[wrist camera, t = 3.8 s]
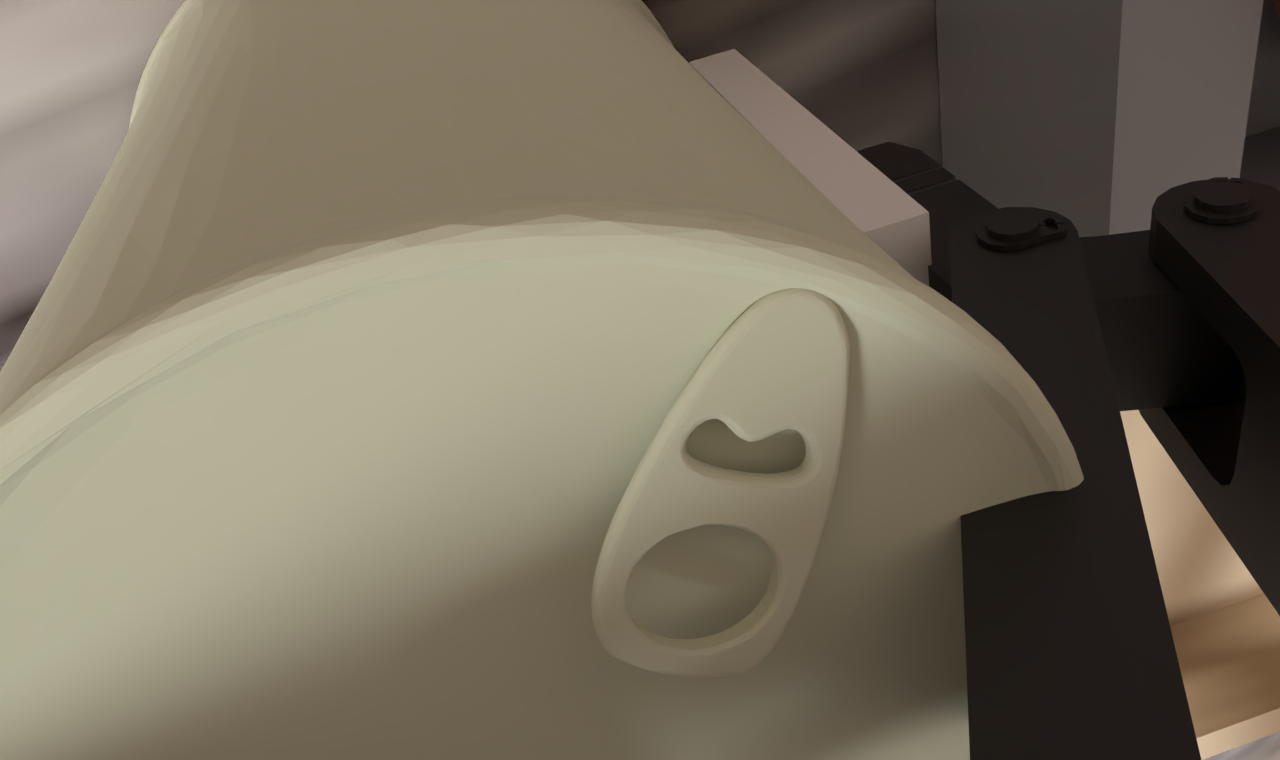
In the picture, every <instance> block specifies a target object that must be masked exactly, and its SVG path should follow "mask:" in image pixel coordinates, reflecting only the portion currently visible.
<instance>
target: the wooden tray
mask: <svg viewBox="0 0 1280 760" xmlns="http://www.w3.org/2000/svg"><path fill="white" fill-rule="evenodd" d="M1120 414H1121V418H1122V422H1123V427H1124V431H1125V435H1126V439H1127V444H1128V448H1129V452H1130V456H1131V461H1132V465H1133V469H1134V474H1135V478H1136V482H1137V486H1138V491H1139V495H1140V499H1141V503H1142V508H1143V512H1144V516H1145V521H1146V525H1147V529H1148V533H1149V538H1150V542H1151V546H1152V551H1153V555H1154V559H1155V563H1156V568H1157V572H1158V576H1159V580H1160V585H1161V589H1162V593H1163V598H1164V602H1165V606H1166V610H1167V615H1168V619H1169V623H1170V628H1171V632H1172V636H1173V640H1174V645H1175V649H1176V653H1177V657H1178V662H1179V666H1180V670H1181V675H1182V679H1183V683H1184V687H1185V692H1186V696H1187V700H1188V704H1189V709H1190V713H1191V717H1192V722H1193V726H1194V730H1195V734H1196V739H1197V743H1198V747H1199V752H1200V756H1201V760H1203V759H1206V758H1208V757H1211V756H1214V755H1217V754H1219V753H1222V752H1225V751H1227V750H1230V749H1233V748H1236V747H1238V746H1241V745H1244V744H1247V743H1249V742H1252V741H1255V740H1257V739H1260V738H1263V737H1266V736H1268V735H1271V734H1274V733H1277V732H1279V731H1280V616H1279V614H1278V613H1277V611H1276V610H1275V609H1274V607H1273V606H1272V604H1271V603H1270V601H1269V600H1268V598H1267V597H1266V596H1265V594H1264V593H1263V591H1262V590H1261V588H1260V587H1259V585H1258V584H1257V583H1256V581H1255V580H1254V578H1253V577H1252V575H1251V574H1250V572H1249V571H1248V570H1247V568H1246V567H1245V565H1244V564H1243V562H1242V561H1241V559H1240V558H1239V556H1238V555H1237V554H1236V552H1235V551H1234V549H1233V548H1232V546H1231V545H1230V543H1229V542H1228V541H1227V539H1226V538H1225V536H1224V535H1223V533H1222V532H1221V530H1220V529H1219V528H1218V526H1217V525H1216V523H1215V522H1214V520H1213V519H1212V517H1211V516H1210V515H1209V513H1208V512H1207V510H1206V509H1205V507H1204V506H1203V504H1202V503H1201V502H1200V500H1199V499H1198V497H1197V496H1196V494H1195V493H1194V491H1193V490H1192V488H1191V487H1190V486H1189V484H1188V483H1187V481H1186V480H1185V478H1184V477H1183V475H1182V474H1181V473H1180V471H1179V470H1178V468H1177V467H1176V465H1175V464H1174V462H1173V461H1172V460H1171V458H1170V457H1169V455H1168V454H1167V452H1166V451H1165V449H1164V448H1163V447H1162V445H1161V444H1160V442H1159V441H1158V439H1157V438H1156V436H1155V435H1154V434H1153V432H1152V431H1151V429H1150V428H1149V426H1148V425H1147V423H1146V422H1145V421H1144V419H1143V418H1142V416H1141V415H1140V412H1139V410H1130V411H1120Z"/></svg>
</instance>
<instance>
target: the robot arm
mask: <svg viewBox="0 0 1280 760" xmlns="http://www.w3.org/2000/svg"><path fill="white" fill-rule="evenodd" d="M689 64H690V65H691V66H692V67H693V68H694V69H695V70H696V71H697V72H698V73H699V74H700V75H701V76H702V77H703V78H704V79H705V80H706V81H707V82H708V83H709V84H710V85H711V86H712V87H713V88H714V89H715V90H716V91H717V92H718V93H719V94H720V95H721V96H722V97H723V98H724V99H725V100H726V101H727V102H728V103H729V104H730V105H731V106H732V107H733V108H734V109H735V110H736V111H737V112H738V113H739V114H740V115H741V116H742V117H744V118H745V119H746V120H747V121H748V122H749V123H750V124H751V125H752V126H753V127H754V128H755V129H756V130H757V131H758V132H759V133H760V134H761V135H762V136H763V137H764V138H765V139H766V140H767V141H768V142H769V143H770V144H772V145H773V146H774V147H775V148H776V149H777V150H778V151H779V152H780V153H781V154H782V155H783V156H784V157H785V158H786V159H787V160H788V161H789V162H790V163H791V164H792V165H793V166H794V167H795V168H796V169H797V170H798V171H800V172H801V173H802V174H803V175H804V176H805V177H806V178H807V179H808V180H809V181H810V182H811V183H812V184H813V185H814V186H815V187H816V188H817V189H818V190H819V191H820V192H821V193H822V194H823V195H824V196H825V197H826V198H828V199H829V200H830V201H831V202H832V203H833V204H834V205H835V206H836V207H837V208H838V209H839V210H840V211H841V212H842V213H843V214H844V215H845V216H846V217H847V218H848V219H849V220H850V221H851V222H852V223H853V224H855V225H856V226H857V227H858V228H859V229H860V230H861V231H862V232H864V233H865V234H866V235H867V236H868V237H869V238H870V239H871V240H872V241H874V242H875V243H876V244H877V245H878V246H879V247H880V248H881V249H883V250H884V251H885V252H886V253H887V254H888V255H889V256H890V257H892V258H893V259H894V260H895V261H896V262H897V263H898V264H899V265H900V266H902V267H903V268H904V269H905V270H906V271H907V272H908V273H909V274H911V275H912V276H913V277H914V278H915V279H916V280H918V281H920V282H922V283H923V284H925V285H927V286H929V287H931V288H932V289H934V290H935V291H937V292H938V293H940V294H941V295H942V296H944V297H945V298H947V299H948V300H949V301H951V302H952V303H954V304H955V305H956V306H958V307H959V308H961V309H962V310H963V311H965V312H966V313H967V314H968V315H969V316H971V317H972V318H973V319H974V320H975V321H976V322H977V323H979V324H980V325H981V326H982V327H983V328H984V329H985V330H987V331H988V332H989V333H990V334H991V335H992V336H994V337H995V338H996V339H997V340H998V341H999V342H1000V343H1002V345H1003V346H1004V347H1005V348H1006V349H1007V350H1008V351H1009V353H1010V354H1011V355H1012V356H1013V357H1014V358H1015V360H1016V361H1017V362H1018V363H1019V364H1020V365H1021V366H1022V368H1023V369H1024V370H1025V371H1026V372H1027V373H1028V374H1029V376H1030V377H1031V378H1032V379H1033V380H1034V381H1035V383H1036V384H1037V386H1038V387H1039V389H1040V390H1041V392H1042V393H1043V395H1044V396H1045V398H1046V399H1047V401H1048V402H1049V404H1050V405H1051V407H1052V408H1053V410H1054V411H1055V413H1056V414H1057V416H1058V418H1059V420H1060V422H1061V424H1062V426H1063V428H1064V430H1065V432H1066V434H1067V436H1068V438H1069V440H1070V442H1071V444H1072V445H1073V447H1074V450H1075V453H1076V456H1077V459H1078V462H1079V465H1080V468H1081V471H1082V474H1083V477H1084V480H1083V481H1082V482H1081V483H1080V484H1079V485H1078V486H1076V487H1074V488H1071V489H1069V490H1066V491H1065V490H1064V491H1049V492H1043V493H1038V494H1033V495H1029V496H1025V497H1021V498H1018V499H1014V500H1011V501H1007V502H1004V503H1000V504H997V505H993V506H990V507H987V508H983V509H980V510H977V511H974V512H971V513H968V514H964V515H961V516H960V518H961V544H962V569H963V595H964V620H965V645H966V671H967V696H968V722H969V747H970V760H1201V756H1200V752H1199V747H1198V743H1197V739H1196V734H1195V730H1194V726H1193V722H1192V717H1191V713H1190V709H1189V704H1188V700H1187V696H1186V692H1185V687H1184V683H1183V679H1182V675H1181V670H1180V666H1179V662H1178V657H1177V653H1176V649H1175V645H1174V640H1173V636H1172V632H1171V628H1170V623H1169V619H1168V615H1167V610H1166V606H1165V602H1164V598H1163V593H1162V589H1161V585H1160V580H1159V576H1158V572H1157V568H1156V563H1155V559H1154V555H1153V551H1152V546H1151V542H1150V538H1149V533H1148V529H1147V525H1146V521H1145V516H1144V512H1143V508H1142V503H1141V499H1140V495H1139V491H1138V486H1137V482H1136V478H1135V474H1134V469H1133V465H1132V461H1131V456H1130V452H1129V448H1128V444H1127V439H1126V435H1125V431H1124V427H1123V422H1122V418H1121V414H1120V411H1130V410H1139V412H1140V415H1141V416H1142V418H1143V419H1144V421H1145V422H1146V423H1147V425H1148V426H1149V428H1150V429H1151V431H1152V432H1153V434H1154V435H1155V436H1156V438H1157V439H1158V441H1159V442H1160V444H1161V445H1162V447H1163V448H1164V449H1165V451H1166V452H1167V454H1168V455H1169V457H1170V458H1171V460H1172V461H1173V462H1174V464H1175V465H1176V467H1177V468H1178V470H1179V471H1180V473H1181V474H1182V475H1183V477H1184V478H1185V480H1186V481H1187V483H1188V484H1189V486H1190V487H1191V488H1192V490H1193V491H1194V493H1195V494H1196V496H1197V497H1198V499H1199V500H1200V502H1201V503H1202V504H1203V506H1204V507H1205V509H1206V510H1207V512H1208V513H1209V515H1210V516H1211V517H1212V519H1213V520H1214V522H1215V523H1216V525H1217V526H1218V528H1219V529H1220V530H1221V532H1222V533H1223V535H1224V536H1225V538H1226V539H1227V541H1228V542H1229V543H1230V545H1231V546H1232V548H1233V549H1234V551H1235V552H1236V554H1237V555H1238V556H1239V558H1240V559H1241V561H1242V562H1243V564H1244V565H1245V567H1246V568H1247V570H1248V571H1249V572H1250V574H1251V575H1252V577H1253V578H1254V580H1255V581H1256V583H1257V584H1258V585H1259V587H1260V588H1261V590H1262V591H1263V593H1264V594H1265V596H1266V597H1267V598H1268V600H1269V601H1270V603H1271V604H1272V606H1273V607H1274V609H1275V610H1276V611H1277V613H1278V614H1279V616H1280V191H1279V190H1277V189H1275V188H1273V187H1271V186H1269V185H1265V184H1260V183H1256V182H1252V181H1248V180H1247V179H1243V178H1233V177H1231V179H1228V177H1215V178H1211V179H1209V180H1199V181H1192V182H1189V183H1185V184H1182V185H1179V186H1175V187H1172V188H1170V189H1169V190H1167V191H1166V192H1164V193H1163V194H1161V195H1160V196H1158V197H1157V198H1156V201H1155V203H1154V205H1153V207H1152V214H1151V226H1150V230H1144V231H1136V232H1128V233H1120V234H1112V235H1104V236H1091V237H1079V234H1078V230H1077V229H1076V227H1075V226H1074V225H1073V223H1072V222H1071V220H1070V219H1068V218H1066V217H1064V216H1062V215H1060V214H1058V213H1056V212H1054V211H1049V210H1044V209H1039V208H1035V207H1006V208H1000V209H998V208H997V207H995V206H994V205H993V204H991V203H990V202H989V201H987V200H986V199H985V198H983V197H982V196H981V195H979V194H978V193H977V192H975V191H974V190H973V189H971V188H970V187H969V186H967V185H966V184H965V183H963V182H962V181H961V180H957V181H956V177H955V176H954V175H953V174H951V173H950V172H949V171H947V170H946V169H945V168H940V165H939V164H938V163H936V162H935V161H934V160H932V159H931V158H930V157H928V156H927V155H926V154H924V153H923V152H922V151H920V150H917V149H914V148H910V147H906V146H903V145H899V144H896V143H892V142H886V143H883V144H879V145H876V146H873V147H869V148H866V149H863V150H860V151H856V150H854V149H853V148H852V147H851V146H850V145H848V144H847V143H846V142H845V141H844V140H842V139H841V138H840V137H839V136H838V135H836V134H835V133H834V132H833V131H832V130H831V129H829V128H828V127H827V126H826V125H825V124H823V123H822V122H821V121H820V120H819V119H817V118H816V117H815V116H814V115H813V114H811V113H810V112H809V111H808V110H807V109H806V108H804V107H803V106H802V105H801V104H800V103H798V102H797V101H796V100H795V99H794V98H792V97H791V96H790V95H789V94H788V93H786V92H785V91H784V90H783V89H782V88H781V87H779V86H778V85H777V84H776V83H775V82H773V81H772V80H771V79H770V78H769V77H767V76H766V75H765V74H764V73H763V72H762V71H760V70H759V69H758V68H757V67H756V66H754V65H753V64H752V63H751V62H750V61H748V60H747V59H746V58H745V57H744V56H742V55H741V54H740V53H739V52H738V51H737V50H735V49H731V50H728V51H725V52H721V53H718V54H714V55H711V56H708V57H704V58H701V59H697V60H694V61H690V62H689Z"/></svg>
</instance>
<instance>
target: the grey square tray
mask: <svg viewBox="0 0 1280 760" xmlns="http://www.w3.org/2000/svg"><path fill="white" fill-rule="evenodd" d="M935 5H936V28H937V51H938V74H939V97H940V120H941V143H942V166H943V168H945V169H946V170H947V171H949V172H950V173H951V174H953V175H954V176H955V177H956V181H957V180H961V181H962V182H963V183H965V184H966V185H967V186H969V187H970V188H971V189H973V190H974V191H975V192H977V193H978V194H979V195H981V196H982V197H983V198H985V199H986V200H987V201H989V202H990V203H991V204H993V205H994V206H995V207H997V208H998V209H1000V208H1006V207H1035V208H1039V209H1044V210H1049V211H1054V212H1056V213H1058V214H1060V215H1062V216H1064V217H1066V218H1068V219H1070V220H1071V222H1072V223H1073V225H1074V226H1075V227H1076V229H1077V230H1078V234H1079V237H1091V236H1104V235H1112V234H1120V233H1128V232H1136V231H1144V230H1150V226H1151V214H1152V207H1153V205H1154V203H1155V201H1156V198H1157V197H1158V196H1160V195H1161V194H1163V193H1164V192H1166V191H1167V190H1169V189H1170V188H1172V187H1175V186H1179V185H1182V184H1185V183H1189V182H1192V181H1199V180H1209V179H1211V178H1215V177H1228V179H1231V177H1233V178H1243V179H1247V180H1248V181H1252V182H1256V183H1260V184H1265V185H1269V186H1271V187H1273V188H1275V189H1277V190H1279V191H1280V18H1279V16H1278V15H1277V13H1276V11H1275V8H1274V5H1273V2H1272V0H935Z"/></svg>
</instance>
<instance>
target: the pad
mask: <svg viewBox="0 0 1280 760" xmlns="http://www.w3.org/2000/svg"><path fill="white" fill-rule="evenodd" d="M1272 2H1273V5H1274V8H1275V11H1276V13H1277V15H1278V16H1279V18H1280V0H1272Z"/></svg>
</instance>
